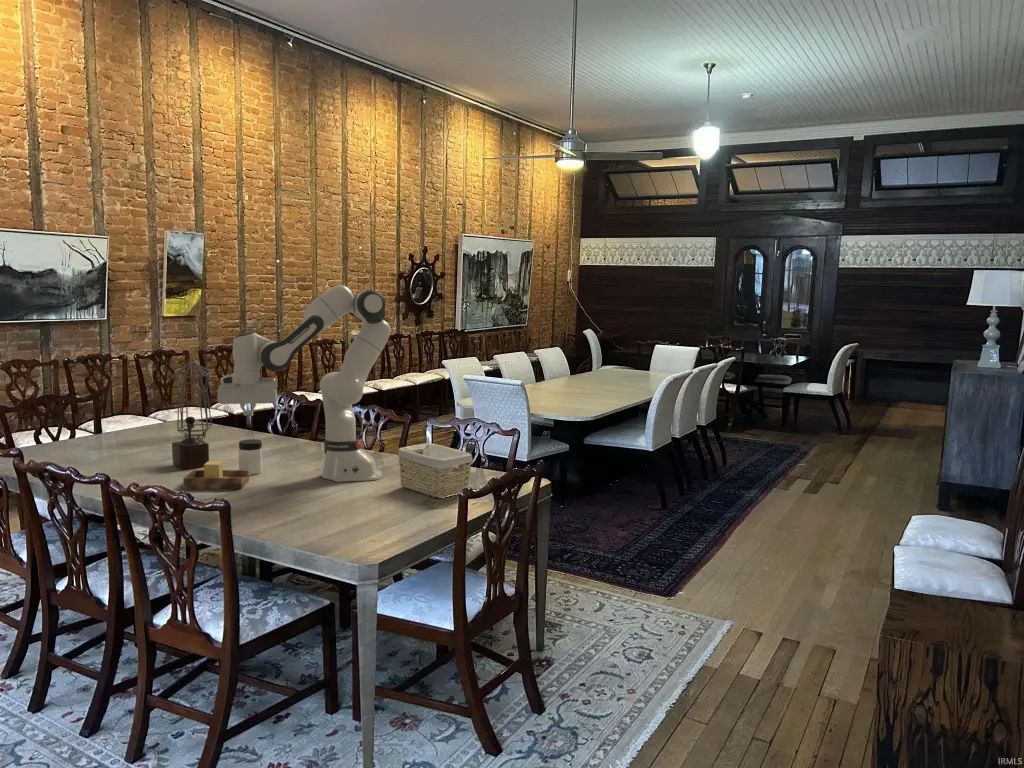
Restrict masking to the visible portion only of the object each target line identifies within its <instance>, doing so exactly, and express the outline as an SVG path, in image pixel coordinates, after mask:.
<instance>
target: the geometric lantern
mask: <svg viewBox="0 0 1024 768" xmlns="http://www.w3.org/2000/svg"><path fill="white" fill-rule="evenodd" d="M186 368H187V370H186V371H184V370H185V369H186ZM194 368H195V369H196V371H197V372H194ZM189 370H190V372H189ZM212 373H213V372H212V370H209V369H208V368H206V367H204V366H202V365H199V364H198V363H196V362H195V361H188V362H187V363H186V364H184V365H183V366H182V367H181V368H180V369H179V370H178V371H176V372H174V373H173V374H172V375H171V376H170V377H171V378H172V379H173V380H174V382H175V385H176V390H177V423H176V424H177V425H176V427H177V432H179V433H181V434H183V435H184V439H185V438H188V437H189V431H183V429H186V428H187V427H188V424H187V423H186V424H184V394H185V407H186V408H185V409H186V410H185V412H186V413H185V414H186V417H185V418H187V417H189V416H188V414H189V413H188V394H198V398H199V407H200V408H199V409H200V419H201V423H198V424H193V425H194V427H195V426H201V429H191V436H192V437H194V436H195V437H196V436H197V437H198V436H199V438H198V439H201V440H204V439H206V438H207V432H208V430H210V428H212V426H213V420H212V415H211V407H210V406H211V405H210V399H209V398H210V397H209V391H208V389H209V383H210V380H211V375H212ZM180 374H181V376H180ZM197 374H198V375H197ZM183 375H184V376H183ZM195 375H196V376H195ZM204 377H205V384H204V383H203V382H202V381H201V379H202V378H204ZM180 378H182V379H183V381H182V380H181V379H180ZM186 379H190V381H189V382H186ZM197 381H199V382H200V384H201V385H202V387H203V388H202V387H201V388H200V389H199V388H198V387H197V386H196V384H195V382H197ZM180 382H181V383H183V385H182V384H181V383H180ZM178 383H179V385H180V387H181V389H180V390H179V385H178ZM191 384H192V385H193V386H194V387H195V388H189V386H190V385H191ZM186 385H187V387H186V388H185V386H186ZM190 390H193V391H192V392H191V391H190ZM194 390H197V391H196V392H194ZM200 390H202V391H200ZM184 391H185V392H184ZM188 391H189V392H188ZM201 394H202V397H203V404H204V406H203V407H204V414H205V422H206V423H204V419H203V411H202V410H203V409H202V399H201ZM208 414H209V417H208ZM208 418H209V419H208ZM209 420H210V423H209ZM179 421H180V423H179ZM179 424H180V425H179ZM179 426H180V427H179ZM204 426H205V427H204ZM185 427H186V428H185ZM193 432H194V433H195V432H197V433H195V434H194V433H193ZM198 432H202V433H198ZM200 436H201V437H200Z"/></svg>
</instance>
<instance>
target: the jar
mask: <svg viewBox="0 0 1024 768" xmlns="http://www.w3.org/2000/svg"><path fill="white" fill-rule="evenodd" d="M262 442H263V441H262V440H261V439H243V440H242V439H241V440H240V441H239V442H238V470H249V476H252V475H260V474H261V473H262V471H263V447H262V446H263V443H262Z"/></svg>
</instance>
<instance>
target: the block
mask: <svg viewBox="0 0 1024 768" xmlns="http://www.w3.org/2000/svg"><path fill="white" fill-rule="evenodd" d="M223 467H224V466H223V461H218V460H217V461H213V460H209V461H208V462H207V463H205V464H204V467H203V470H204V477H223V470H224V468H223Z"/></svg>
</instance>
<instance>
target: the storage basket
mask: <svg viewBox="0 0 1024 768" xmlns="http://www.w3.org/2000/svg"><path fill="white" fill-rule="evenodd" d="M420 453H421V454H420ZM397 456H398V462H399V476H400V477H399V478H400V485H401V487H403V488H405V489H408V490H412V491H414V492H418V493H420V492H421V493H420V494H422V493H424V494H423V495H425V494H427V495H426V496H429V495H430V496H429V497H433V498H435V497H438V498H442V497H446V496H448V495H452V494H456V493H457V495H456V496H459V495H458V493H459V492H460V490H461V489H463V488H467V487H470V481H471V480H470V477H471V468H472V466H471V465H472V462H473V455H472V454H471V453H469V452H466V451H463V450H459V449H456V448H451V447H448V446H444V445H441V444H436V443H430V442H427V443H422V444H421V443H420V444H415V445H409V446H404V447H399V448H398V451H397ZM438 498H437V499H438Z"/></svg>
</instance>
